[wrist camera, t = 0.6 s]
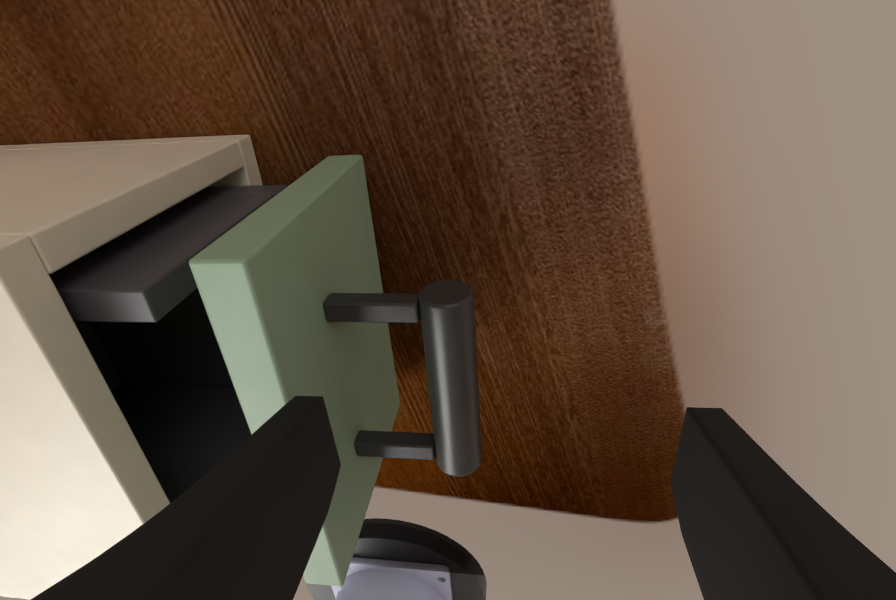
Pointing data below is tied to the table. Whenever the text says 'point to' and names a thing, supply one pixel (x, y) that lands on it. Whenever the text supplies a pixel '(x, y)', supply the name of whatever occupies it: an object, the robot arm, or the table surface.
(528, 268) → the table surface
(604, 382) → the table surface
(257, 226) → the drawer
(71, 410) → the storage box
